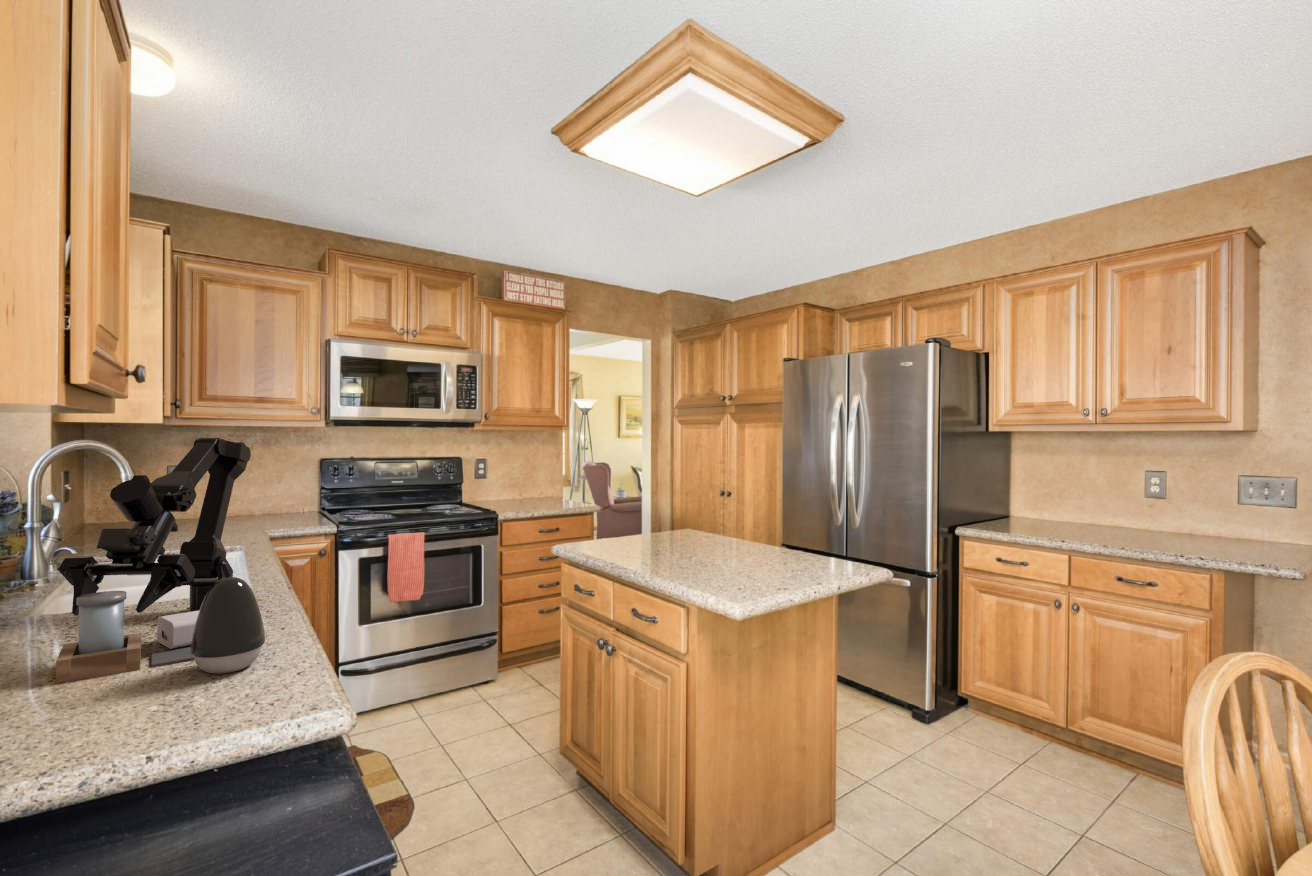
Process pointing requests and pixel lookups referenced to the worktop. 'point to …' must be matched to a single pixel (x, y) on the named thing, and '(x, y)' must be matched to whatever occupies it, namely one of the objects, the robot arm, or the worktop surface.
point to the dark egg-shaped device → (228, 628)
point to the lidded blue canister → (101, 621)
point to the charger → (176, 629)
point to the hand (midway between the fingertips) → (106, 612)
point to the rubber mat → (171, 656)
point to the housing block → (98, 660)
